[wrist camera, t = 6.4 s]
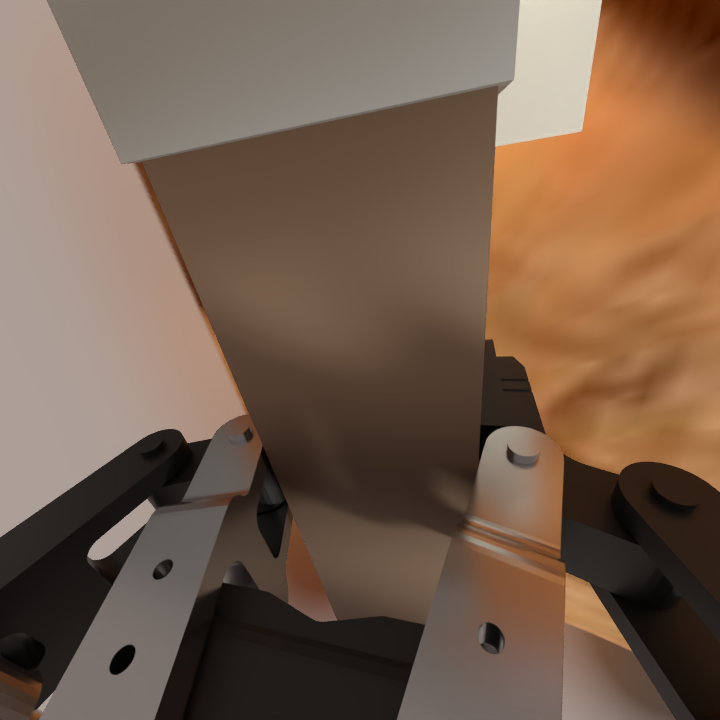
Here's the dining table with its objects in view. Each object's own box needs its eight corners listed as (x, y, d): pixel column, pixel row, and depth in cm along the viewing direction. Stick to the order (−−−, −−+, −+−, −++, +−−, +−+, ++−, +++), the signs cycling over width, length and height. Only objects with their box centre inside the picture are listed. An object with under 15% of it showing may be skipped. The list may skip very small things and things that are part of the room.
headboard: (535, 135, 14) (644, 125, 6) (302, 177, 17) (169, 207, 9) (551, -29, 11) (769, -406, 4) (275, 54, 14) (61, -53, 6)
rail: (465, 516, 14) (471, 675, 10) (370, 505, 15) (340, 643, 11) (480, -22, 6) (550, -432, 2) (270, 40, 7) (-2, -108, 3)
